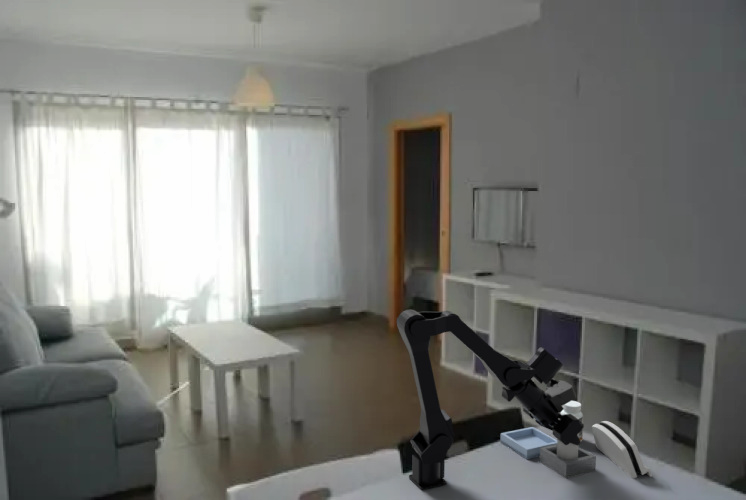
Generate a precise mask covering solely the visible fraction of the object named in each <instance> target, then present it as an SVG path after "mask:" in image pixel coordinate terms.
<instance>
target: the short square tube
mask: <svg viewBox="0 0 746 500" xmlns="http://www.w3.org/2000/svg"><path fill="white" fill-rule="evenodd" d="M596 456H597V455H594V454H593V453H591V452H588V451H587V450H585V449H584V448H581V447H579V446H578V458H577V459H573V460H569V461H566V460H564V459H562V458H561V457H559V456H557V444H556V445H551V446H547V447H542V448H540V456H539V463H541V464H542V465H544V466H546V467H547V468H548V469H550V470H552V471H554V472H555V473H557V474H559V475H560V476H562V477H563V478H564V479H569V478H573V477H576V476H580V475H584V474H588V473H593V472H596V470H597V469H596V466H597V465H596V464H597V463H596V462H597V457H596Z"/></svg>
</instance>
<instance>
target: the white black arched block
mask: <svg viewBox="0 0 746 500" xmlns="http://www.w3.org/2000/svg"><path fill="white" fill-rule="evenodd" d="M591 431H592V435H593V438H594V442H595V446H596V448H597V449H598V450H599V451H600V452H601V453H602V454H604V456H606V457H607V458H608V459H609V460H611V461H612V462H613V463H614V464H615V465H616V466H617V467H619V469H621V470H622V471H623V472H625V474H627V475H628V476H629V478H631V479H636V478H638V475H642V476H643V475H645V474H646V475H647V476H649V477H650V478H651V477H653V475H652V472H651V469H650V468H649V467H647V466H646V465H645V464H644V462H643V460H642V457H641V455H640V452H639V451H640V450H639V448H638V446H637V445H636V443H635V442H634V441H633V439H631V437H630V436H629V435H628V434H627V433H625V431H624V430H623V429H621V428H620V427H619V426H617V425H616V424H614V423H612V422H610V421H607V420H604V421H600V422H599V423H595V424H593V425H592V426H591Z"/></svg>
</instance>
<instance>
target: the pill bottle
mask: <svg viewBox="0 0 746 500" xmlns="http://www.w3.org/2000/svg"><path fill="white" fill-rule="evenodd" d="M562 407H563V408H564V409H563V410H562V411H561V412H559V414H561V415H563V414H571V415H574V416H576V417H578V418H579V420H580V421H581V422H582V423H583V424H584V414H583V412H582V411H581V410H582V403H580V402H579V401H576V400H572V401H570V402H568V403H566V404H565V405H562ZM583 431H584V428H583V429H582V430H581V431H580V432H579V439H580V441H581V442H582V441H583V434H584V433H583Z"/></svg>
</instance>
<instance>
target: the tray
mask: <svg viewBox="0 0 746 500" xmlns="http://www.w3.org/2000/svg"><path fill="white" fill-rule="evenodd" d="M500 444H502V445H504V446H505V447H506V448H508V447H509V448H508V449H510V448H511V449H512V450H511V449H510V450H511V451H513V452H514V451H515V452H514V453H516V454H518V455H519V456H520V457H522V458H523V459H525V460H530V459H534V458H540V448H542V447H547V446H551V445H556V444H557V438H554V437H552V436H550V435H548V434H546V433H545V432H543V431H541V430H540V429H538V428H536V427H534V426H529V427H525V428H520V429H515V430H511V431H510V430H509V431H505V432H501V433H500Z"/></svg>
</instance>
